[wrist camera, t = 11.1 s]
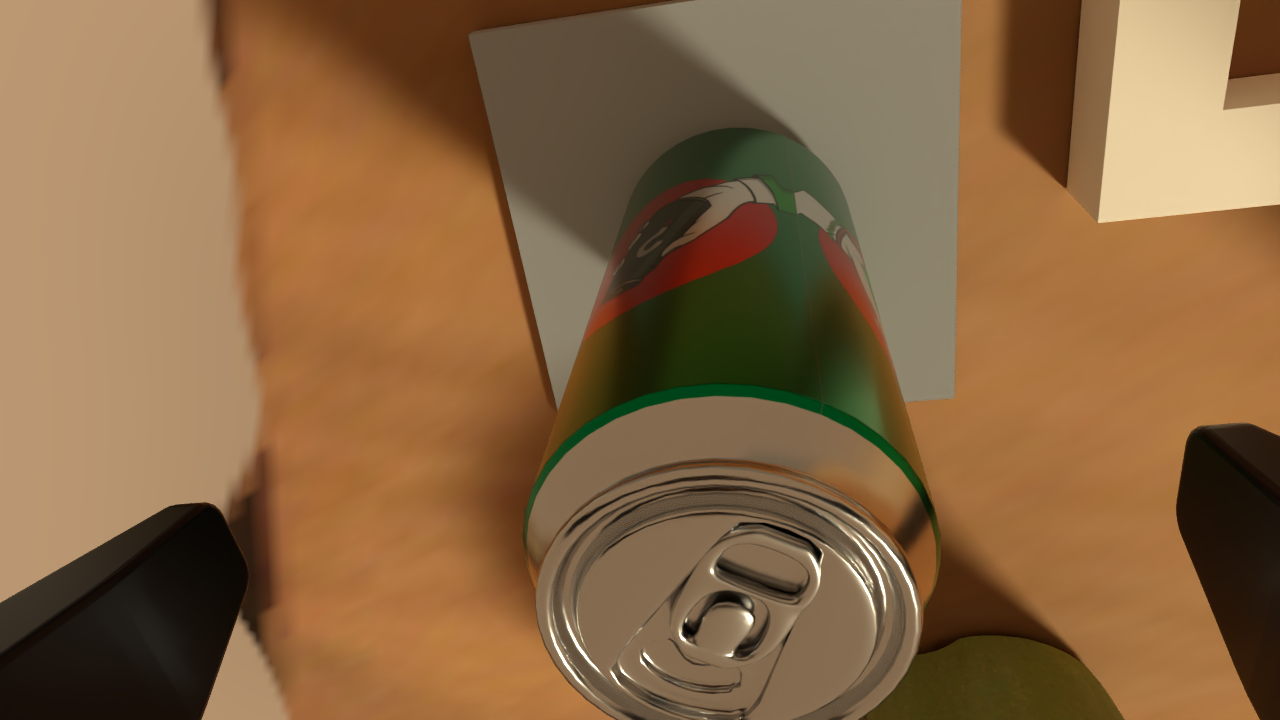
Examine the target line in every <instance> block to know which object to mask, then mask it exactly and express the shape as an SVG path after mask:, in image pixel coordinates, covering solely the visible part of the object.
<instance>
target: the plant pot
mask: <svg viewBox="0 0 1280 720" xmlns="http://www.w3.org/2000/svg"><path fill="white" fill-rule="evenodd" d="M866 720H1125V719H1124V718H1123V716H1122V715H1121V713H1120V712H1119V710H1118V708H1117V707H1116V705H1115V704H1114V702H1113V701H1112V699H1111V698H1110V696H1109V695H1108V693H1107V692H1106V690H1105V689H1104V688H1103V686H1102V685H1101V683H1100V682H1099V681H1098V680H1097V679H1096V678H1095V676H1094V675H1093V674H1092V673H1091V672H1090V671H1089V669H1088V668H1087V667H1085V666H1084V665H1083V664H1082V663H1081V662H1080V661H1078V660H1077V659H1075V658H1074V657H1072V656H1071V655H1069V654H1067V653H1065V652H1063V651H1061V650H1059V649H1056V648H1054V647H1052V646H1049V645H1046V644H1043V643H1040V642H1037V641H1033V640H1030V639H1025V638H1019V637H1010V636H999V635H984V636H971V637H964V638H960V639H958V640H956V641H955V642H953V643H952V644H950V645H948V646H946V647H944V648H942V649H939V650H937V651H933V652H929V653H925V654H918V655H916V657H915V659H914V661H913V664H912V666H911V668H910V670H909V672H908V674H907V675H906V676H905V678H904V679H903V681H902V682H901V684H900V685H899V686H898V688H897V689H896V690H895V691H894V692H893V693H892V694H891V695H890V696H889V697H888V698H887V699H886V700H885V701H884V702H883V703H882V704H881V705H880V706H879V707H878V708H877V709H875V710H874V711H872V712H871V713H870V714H868V715H867V717H866Z"/></svg>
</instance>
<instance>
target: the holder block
mask: <svg viewBox="0 0 1280 720" xmlns="http://www.w3.org/2000/svg"><path fill="white" fill-rule="evenodd" d="M1240 1H1241V0H1082V5H1081V18H1080V30H1079V43H1078V55H1077V68H1076V80H1075V93H1074V105H1073V118H1072V130H1071V143H1070V155H1069V168H1068V180H1067V191H1068V192H1069V193H1070V194H1071V195H1072V196H1073V197H1074V198H1075V199H1076V200H1077V201H1078V203H1079V204H1080V205H1081V206H1082V207H1083V208H1084V209H1085V210H1086V211H1087V212H1088V213H1089V214H1090V215H1091V216H1092V217H1093V218H1094V219H1095V220H1096V221H1097V223H1103V222H1113V221H1122V220H1132V219H1142V218H1151V217H1161V216H1171V215H1181V214H1190V213H1200V212H1210V211H1219V210H1229V209H1239V208H1249V207H1258V206H1268V205H1278V204H1280V73H1275V74H1267V75H1259V76H1251V77H1243V78H1235V79H1228V75H1229V69H1230V63H1231V57H1232V51H1233V44H1234V38H1235V32H1236V26H1237V20H1238V13H1239V7H1240Z"/></svg>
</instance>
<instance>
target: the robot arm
mask: <svg viewBox="0 0 1280 720" xmlns="http://www.w3.org/2000/svg"><path fill="white" fill-rule="evenodd" d="M1176 515H1177V522H1178V526H1179V530H1180V533H1181V536H1182V538H1183V541H1184V543H1185V545H1186V548H1187V550H1188V553H1189V555H1190V558H1191V560H1192V563H1193V565H1194V568H1195V570H1196V572H1197V575H1198V577H1199V580H1200V582H1201V585H1202V587H1203V590H1204V592H1205V595H1206V597H1207V600H1208V602H1209V604H1210V607H1211V609H1212V612H1213V614H1214V617H1215V619H1216V622H1217V624H1218V627H1219V629H1220V631H1221V634H1222V636H1223V639H1224V641H1225V644H1226V646H1227V649H1228V651H1229V654H1230V656H1231V658H1232V661H1233V663H1234V666H1235V668H1236V671H1237V673H1238V675H1239V677H1240V680H1241V682H1242V684H1243V686H1244V689H1245V691H1246V693H1247V695H1248V697H1249V699H1250V701H1251V703H1252V705H1253V707H1254V709H1255V711H1256V713H1257V715H1258V717H1259V719H1260V720H1280V436H1278V435H1276V434H1273V433H1271V432H1269V431H1267V430H1264V429H1262V428H1260V427H1258V426H1255V425H1253V424H1249V423H1231V424H1219V425H1206V426H1199V427H1197V428H1196V429H1194V430H1193V431H1191V433H1190V435H1189V436H1188V439H1187V442H1186V446H1185V452H1184V459H1183V465H1182V471H1181V477H1180V484H1179V490H1178V496H1177V503H1176ZM248 582H249V570H248V565H247V562H246V559H245V557H244V555H243V553H242V551H241V550H240V548H239V546H238V544H237V542H236V540H235V538H234V536H233V534H232V532H231V530H230V528H229V526H228V524H227V522H226V520H225V518H224V516H223V514H222V512H221V511H220V510H219V509H218V508H217V507H216V506H215V505H213V504H210V503H190V504H178V505H173V506H169V507H167V508H165V509H163V510H161V511H160V512H158V513H156V514H155V515H153V516H151V517H149V518H147V519H146V520H144V521H142V522H140V523H139V524H137V525H135V526H134V527H132V528H130V529H128V530H126V531H125V532H123V533H121V534H120V535H118V536H116V537H114V538H112V539H111V540H109V541H107V542H106V543H104V544H102V545H100V546H99V547H97V548H95V549H93V550H92V551H90V552H88V553H86V554H85V555H83V556H81V557H79V558H78V559H76V560H74V561H72V562H71V563H69V564H67V565H66V566H64V567H62V568H60V569H58V570H57V571H55V572H53V573H51V574H50V575H48V576H46V577H44V578H43V579H41V580H39V581H37V582H36V583H34V584H32V585H30V586H29V587H27V588H25V589H24V590H22V591H20V592H18V593H17V594H15V595H13V596H12V597H9V598H8V599H6V600H4V601H2V602H1V603H0V720H201V719H202V717H203V714H204V711H205V708H206V706H207V703H208V700H209V697H210V695H211V692H212V689H213V686H214V683H215V680H216V677H217V674H218V672H219V668H220V666H221V663H222V660H223V657H224V654H225V651H226V648H227V646H228V643H229V640H230V637H231V634H232V631H233V628H234V626H235V623H236V620H237V617H238V614H239V611H240V608H241V605H242V603H243V600H244V597H245V594H246V591H247V587H248Z"/></svg>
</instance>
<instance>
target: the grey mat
mask: <svg viewBox="0 0 1280 720" xmlns="http://www.w3.org/2000/svg"><path fill="white" fill-rule="evenodd" d="M961 8H962V0H672V1H666V2H659V3H653V4H646V5H640V6H633V7H627V8H620V9H614V10H607V11H601V12H594V13H587V14H581V15H574V16H568V17H561V18H555V19H548V20H542V21H535V22H529V23H522V24H516V25H509V26H503V27H496V28H490V29H483V30H477V31H473V32H472V33H470V34H469V35H468V37H469V41H470V46H471V50H472V54H473V58H474V62H475V66H476V71H477V75H478V79H479V83H480V87H481V92H482V96H483V100H484V104H485V108H486V113H487V117H488V121H489V125H490V129H491V133H492V138H493V142H494V146H495V150H496V154H497V159H498V163H499V167H500V171H501V175H502V180H503V184H504V188H505V192H506V196H507V201H508V205H509V209H510V213H511V217H512V221H513V226H514V230H515V234H516V238H517V242H518V247H519V251H520V255H521V259H522V263H523V268H524V272H525V276H526V280H527V284H528V289H529V293H530V297H531V301H532V305H533V309H534V314H535V318H536V322H537V326H538V330H539V335H540V339H541V343H542V347H543V351H544V356H545V360H546V364H547V368H548V372H549V377H550V381H551V385H552V389H553V393H554V397H555V402H556V406H557V410H559V407H560V404H561V401H562V398H563V395H564V392H565V389H566V386H567V383H568V380H569V377H570V374H571V371H572V368H573V365H574V362H575V359H576V356H577V353H578V350H579V348H580V345H581V342H582V339H583V336H584V333H585V330H586V327H587V324H588V321H589V318H590V315H591V312H592V309H593V306H594V303H595V300H596V297H597V294H598V291H599V288H600V285H601V282H602V280H603V277H604V274H605V271H606V268H607V265H608V262H609V259H610V256H611V253H612V250H613V247H614V244H615V241H616V238H617V235H618V232H619V229H620V226H621V223H622V220H623V217H624V214H625V212H626V209H627V206H628V203H629V200H630V197H631V195H632V193H633V191H634V189H635V187H636V185H637V183H638V181H639V180H640V179H641V177H642V176H643V175H644V173H645V172H646V170H647V169H648V168H649V167H650V166H651V165H652V164H653V163H654V162H655V161H656V160H657V159H658V158H659V157H660V156H661V155H662V154H664V153H665V152H666V151H668V150H669V149H671V148H672V147H674V146H675V145H676V144H678V143H680V142H682V141H684V140H686V139H688V138H690V137H692V136H695V135H698V134H702V133H705V132H708V131H711V130H717V129H724V128H754V129H760V130H766V131H770V132H773V133H776V134H779V135H782V136H785V137H787V138H789V139H791V140H793V141H795V142H797V143H799V144H801V145H802V146H804V147H805V148H807V149H808V150H809V151H811V152H812V153H813V154H814V155H816V156H817V157H818V158H819V159H820V160H821V161H822V162H823V163H824V164H825V165H826V166H827V167H828V168H829V170H830V171H831V172H832V174H833V175H834V177H835V178H836V180H837V181H838V183H839V184H840V186H841V189H842V191H843V193H844V196H845V198H846V200H847V203H848V207H849V210H850V214H851V217H852V221H853V224H854V228H855V231H856V235H857V238H858V242H859V245H860V249H861V252H862V256H863V259H864V263H865V266H866V270H867V273H868V277H869V280H870V284H871V287H872V291H873V294H874V298H875V301H876V305H877V308H878V312H879V315H880V319H881V322H882V326H883V329H884V333H885V336H886V340H887V343H888V347H889V350H890V354H891V357H892V361H893V364H894V368H895V371H896V375H897V378H898V382H899V385H900V389H901V392H902V396H903V399H904V402H911V401H925V400H938V399H952V398H954V391H955V336H956V281H957V227H958V172H959V117H960V62H961Z"/></svg>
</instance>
